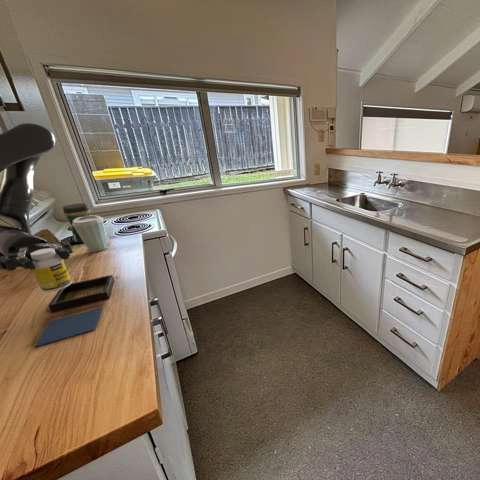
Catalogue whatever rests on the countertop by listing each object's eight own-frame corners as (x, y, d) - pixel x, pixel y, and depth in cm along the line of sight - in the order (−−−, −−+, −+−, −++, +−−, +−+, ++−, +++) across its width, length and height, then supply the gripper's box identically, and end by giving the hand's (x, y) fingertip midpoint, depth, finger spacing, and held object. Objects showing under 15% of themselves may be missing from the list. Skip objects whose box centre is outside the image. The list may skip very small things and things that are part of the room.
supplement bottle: (62, 291, 62) (45, 255, 59) (36, 294, 61) (18, 257, 58) (77, 280, 67) (63, 246, 64) (54, 282, 66) (38, 247, 63)
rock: (21, 252, 109) (51, 244, 113) (17, 234, 111) (46, 227, 115) (38, 258, 119) (65, 251, 123) (34, 242, 121) (61, 235, 125)
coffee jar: (98, 235, 135) (86, 201, 129) (101, 239, 130) (88, 203, 124) (74, 240, 129) (60, 204, 122) (76, 244, 124) (61, 207, 117)
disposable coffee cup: (115, 248, 118) (104, 217, 112) (84, 256, 110) (72, 222, 105) (109, 243, 124) (99, 213, 119) (80, 250, 117) (68, 218, 111)
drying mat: (34, 347, 60) (34, 346, 60) (50, 321, 69) (50, 320, 69) (94, 330, 65) (94, 329, 65) (102, 308, 74) (101, 307, 74)
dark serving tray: (51, 313, 72) (48, 305, 72) (65, 292, 83) (62, 285, 82) (109, 298, 79) (106, 291, 78) (114, 281, 89) (112, 274, 88)
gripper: (-26, 243, 61) (-5, 257, 53) (54, 226, 72) (81, 235, 65) (-11, 271, 63) (12, 288, 56) (64, 250, 75) (91, 262, 67)
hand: (49, 260), depth 60 cm, fingers closed on supplement bottle, 5 cm apart
